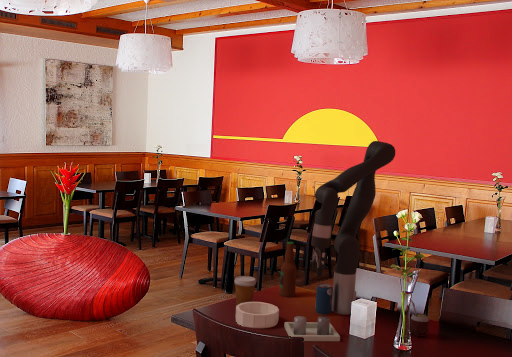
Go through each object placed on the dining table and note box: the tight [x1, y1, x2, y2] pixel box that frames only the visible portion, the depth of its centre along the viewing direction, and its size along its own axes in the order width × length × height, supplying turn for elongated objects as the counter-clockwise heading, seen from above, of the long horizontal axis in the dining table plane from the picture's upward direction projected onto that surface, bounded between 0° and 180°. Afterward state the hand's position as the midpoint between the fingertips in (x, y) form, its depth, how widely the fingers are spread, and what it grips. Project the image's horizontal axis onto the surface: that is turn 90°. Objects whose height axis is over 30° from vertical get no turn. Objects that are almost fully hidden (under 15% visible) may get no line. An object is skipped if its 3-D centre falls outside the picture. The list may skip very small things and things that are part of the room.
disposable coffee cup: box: [234, 275, 257, 306], centre depth 246 cm, size 10×10×12 cm
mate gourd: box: [409, 299, 430, 336], centre depth 221 cm, size 8×8×15 cm
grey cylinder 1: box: [293, 315, 308, 335], centre depth 215 cm, size 5×5×6 cm
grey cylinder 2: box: [316, 315, 331, 335], centre depth 216 cm, size 5×5×6 cm
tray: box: [283, 321, 341, 342], centre depth 216 cm, size 18×15×2 cm
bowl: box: [235, 301, 280, 329], centre depth 227 cm, size 17×17×6 cm
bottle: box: [279, 241, 297, 298], centre depth 265 cm, size 7×7×25 cm
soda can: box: [314, 282, 333, 316], centre depth 243 cm, size 7×7×12 cm
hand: (316, 273), depth 236 cm, fingers open, 8 cm apart
